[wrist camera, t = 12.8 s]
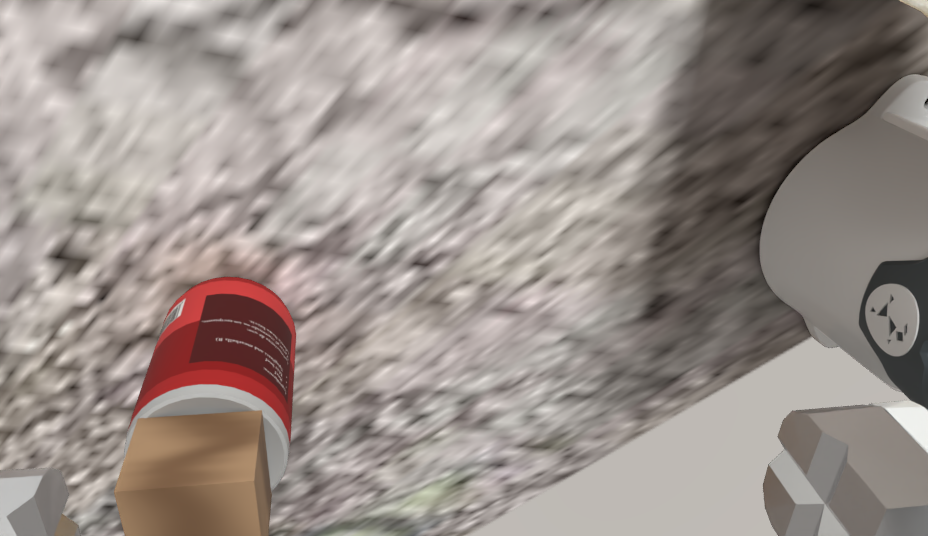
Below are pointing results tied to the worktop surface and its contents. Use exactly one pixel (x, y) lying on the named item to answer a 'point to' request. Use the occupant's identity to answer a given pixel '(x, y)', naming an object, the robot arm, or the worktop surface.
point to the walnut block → (196, 476)
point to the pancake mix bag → (918, 5)
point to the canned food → (225, 361)
